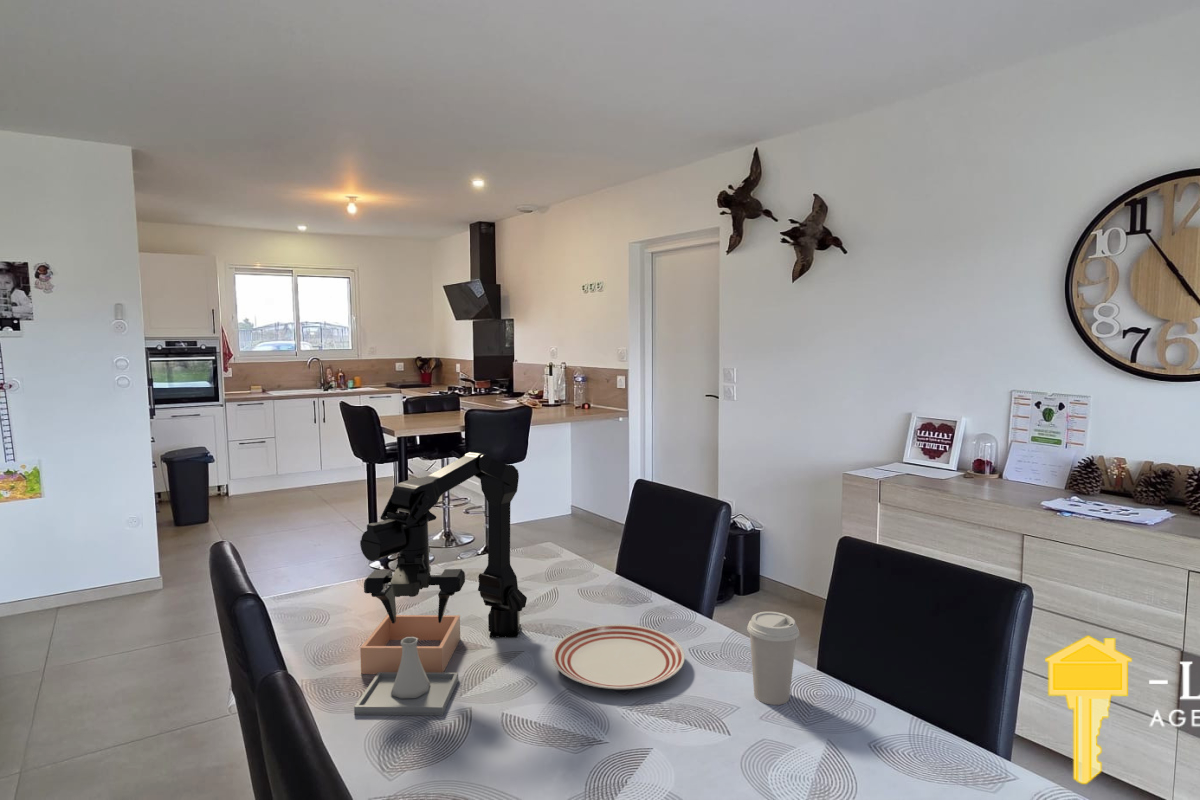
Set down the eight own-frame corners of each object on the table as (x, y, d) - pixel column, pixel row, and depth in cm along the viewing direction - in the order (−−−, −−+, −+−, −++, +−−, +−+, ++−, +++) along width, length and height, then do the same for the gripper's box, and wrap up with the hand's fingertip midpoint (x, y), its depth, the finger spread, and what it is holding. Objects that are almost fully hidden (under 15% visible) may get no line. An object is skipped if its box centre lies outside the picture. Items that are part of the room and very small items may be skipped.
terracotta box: (460, 638, 156) (459, 615, 155) (442, 674, 139) (442, 648, 139) (387, 638, 156) (386, 615, 156) (361, 673, 140) (360, 647, 139)
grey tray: (458, 679, 137) (458, 672, 137) (442, 715, 124) (442, 707, 124) (378, 679, 137) (378, 672, 137) (354, 714, 124) (354, 706, 124)
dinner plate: (689, 703, 129) (689, 686, 128) (544, 699, 130) (543, 682, 130) (680, 639, 156) (680, 625, 156) (560, 636, 157) (560, 622, 157)
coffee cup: (769, 714, 124) (770, 634, 123) (735, 690, 133) (736, 615, 131) (808, 701, 129) (810, 624, 127) (773, 679, 137) (775, 606, 136)
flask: (418, 702, 127) (417, 650, 127) (383, 697, 129) (382, 646, 128) (436, 683, 134) (435, 634, 134) (403, 679, 136) (401, 630, 135)
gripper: (351, 560, 127) (356, 641, 129) (452, 559, 127) (455, 640, 129) (371, 542, 138) (375, 616, 140) (464, 540, 138) (466, 615, 140)
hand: (417, 622), depth 137 cm, fingers open, 9 cm apart
